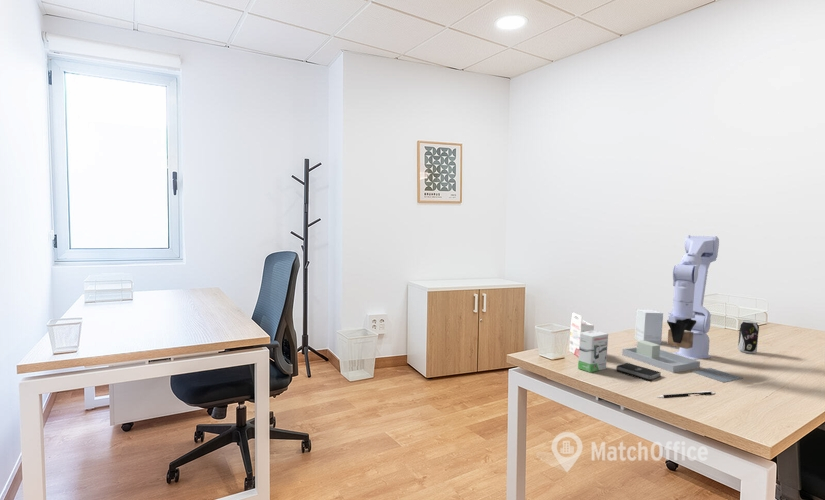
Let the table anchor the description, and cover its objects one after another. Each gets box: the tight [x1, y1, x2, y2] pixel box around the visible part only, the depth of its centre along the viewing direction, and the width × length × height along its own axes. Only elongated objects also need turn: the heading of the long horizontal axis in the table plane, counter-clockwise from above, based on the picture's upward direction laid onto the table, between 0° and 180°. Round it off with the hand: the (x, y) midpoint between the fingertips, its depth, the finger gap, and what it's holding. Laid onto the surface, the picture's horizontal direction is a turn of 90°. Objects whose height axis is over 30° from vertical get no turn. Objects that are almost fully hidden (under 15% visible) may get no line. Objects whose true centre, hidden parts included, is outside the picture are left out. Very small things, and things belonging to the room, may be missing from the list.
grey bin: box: [621, 346, 701, 373], centre depth 152 cm, size 13×19×2 cm
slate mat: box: [690, 367, 744, 384], centre depth 139 cm, size 10×10×1 cm
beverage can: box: [737, 319, 760, 355], centre depth 167 cm, size 6×6×12 cm
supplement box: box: [634, 308, 664, 345], centre depth 178 cm, size 7×7×13 cm
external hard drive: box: [615, 362, 661, 382], centre depth 139 cm, size 7×11×2 cm, turn 36°
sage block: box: [636, 340, 661, 360], centre depth 156 cm, size 4×6×5 cm, turn 24°
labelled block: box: [666, 328, 694, 349], centre depth 146 cm, size 4×6×5 cm, turn 35°
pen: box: [657, 390, 716, 399], centre depth 123 cm, size 1×19×1 cm, turn 103°
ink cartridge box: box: [568, 311, 595, 358], centre depth 158 cm, size 9×5×15 cm, turn 5°
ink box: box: [577, 330, 609, 373], centre depth 143 cm, size 9×5×12 cm, turn 123°
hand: (680, 341), depth 146 cm, fingers closed on labelled block, 4 cm apart
